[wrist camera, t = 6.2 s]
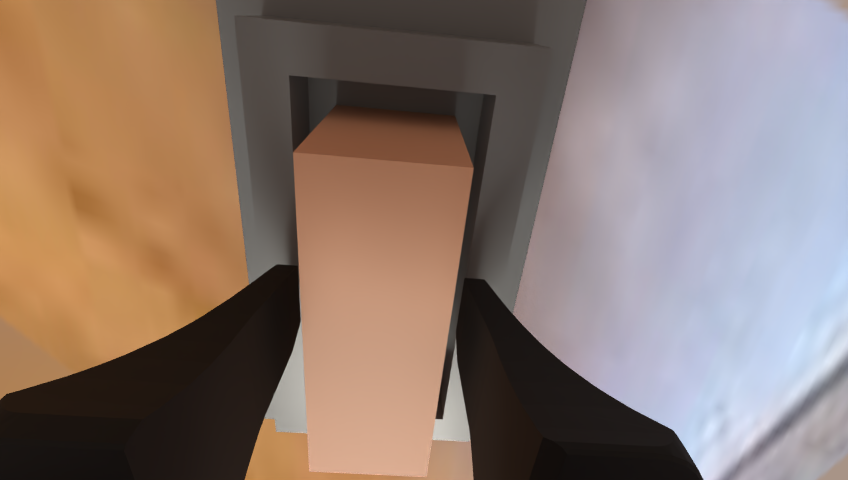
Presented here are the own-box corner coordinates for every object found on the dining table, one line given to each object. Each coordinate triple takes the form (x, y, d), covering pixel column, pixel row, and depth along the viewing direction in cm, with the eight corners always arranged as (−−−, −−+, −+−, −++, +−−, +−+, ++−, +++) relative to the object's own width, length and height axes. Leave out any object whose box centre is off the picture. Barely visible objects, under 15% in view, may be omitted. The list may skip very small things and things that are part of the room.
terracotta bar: (455, 115, 13) (473, 168, 9) (424, 361, 18) (426, 477, 13) (336, 104, 13) (292, 152, 8) (337, 355, 17) (309, 471, 13)
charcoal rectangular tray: (585, -25, 12) (625, -34, 10) (483, 419, 20) (491, 471, 18) (217, -66, 11) (166, -86, 9) (269, 407, 20) (249, 459, 17)
